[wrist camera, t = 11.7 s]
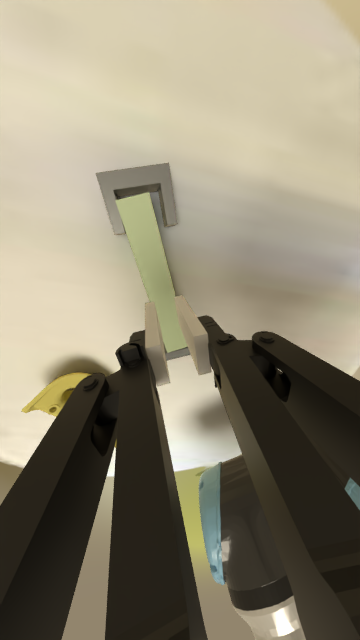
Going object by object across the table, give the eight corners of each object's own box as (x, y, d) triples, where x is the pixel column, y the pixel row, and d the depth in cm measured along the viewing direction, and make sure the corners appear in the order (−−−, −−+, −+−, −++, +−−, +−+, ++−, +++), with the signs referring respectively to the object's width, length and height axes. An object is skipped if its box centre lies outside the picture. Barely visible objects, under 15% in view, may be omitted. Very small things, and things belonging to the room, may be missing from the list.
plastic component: (151, 414, 35) (115, 458, 32) (139, 394, 41) (107, 430, 38) (73, 361, 25) (9, 420, 22) (71, 345, 31) (20, 390, 28)
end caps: (191, 341, 32) (196, 353, 29) (152, 351, 31) (153, 363, 28) (165, 174, 20) (168, 162, 17) (103, 183, 20) (95, 172, 17)
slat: (121, 208, 21) (115, 200, 17) (148, 201, 21) (148, 192, 17) (164, 336, 31) (167, 352, 26) (182, 330, 31) (188, 346, 26)
